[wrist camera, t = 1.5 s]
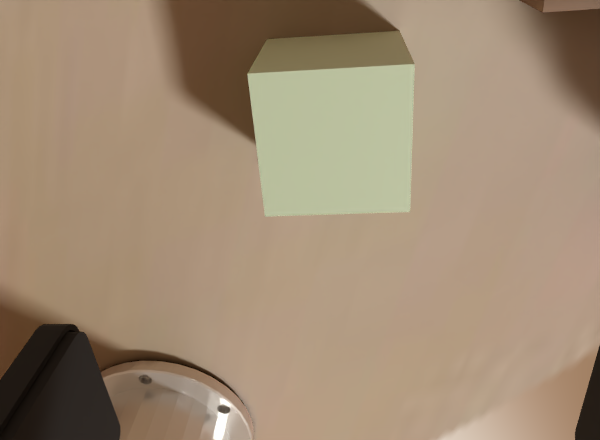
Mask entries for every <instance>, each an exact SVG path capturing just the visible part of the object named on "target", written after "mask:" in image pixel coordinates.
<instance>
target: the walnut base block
mask: <svg viewBox="0 0 600 440" xmlns="http://www.w3.org/2000/svg"><path fill="white" fill-rule="evenodd" d="M520 1H522V2H524V3H526V4H527V5H529V6H531V7H533V8H535V9H537V10H539V11H541V12H557V11H572V10H587V9H600V0H520Z"/></svg>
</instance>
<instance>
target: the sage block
mask: <svg viewBox="0 0 600 440" xmlns="http://www.w3.org/2000/svg"><path fill="white" fill-rule="evenodd" d="M414 68H415V64H414V62H413V59H412V57H411V55H410V53H409V51H408V48H407V46H406V44H405V42H404V40H403V37H402V35H401V33H400V31H386V32H370V33H354V34H339V35H323V36H307V37H292V38H276V39H267V40H266V42H265V44H264V45H263V47H262V49H261V51H260V52H259V54H258V56H257V58H256V59H255V61H254V63H253V65H252V66H251V68H250V70H249V72H248V73H247V75H248V83H249V91H250V99H251V108H252V116H253V124H254V132H255V140H256V148H257V156H258V164H259V172H260V180H261V188H262V196H263V204H264V213H265V216H297V215H329V214H361V213H393V212H410V197H411V164H412V132H413V100H414Z"/></svg>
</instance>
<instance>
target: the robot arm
mask: <svg viewBox="0 0 600 440" xmlns="http://www.w3.org/2000/svg"><path fill="white" fill-rule="evenodd" d="M253 435H254V429H253V424H252V419H251V417H250V415H249V413H248V411H247V408H246V407H245V406H244V404H243V403H242V402H241V401H240V399H239V398H238V397H237V396H236V395H235V394H234V393H233V392H232V391H231V390H230V389H229V388H227V387H226V386H225V385H223V384H222V383H220V382H219V381H217V380H216V379H214V378H213V377H211V376H209V375H206V374H204V373H202V372H200V371H198V370H196V369H192V368H189V367H186V366H183V365H180V364H174V363H168V362H163V361H136V362H127V363H123V364H119V365H116V366H113V367H110V368H108V369H106V370H104V371H102V372H100V370H99V367H98V364H97V362H96V359H95V356H94V354H93V351H92V348H91V346H90V343H89V340H88V338H87V336H86V334H85V333H84V332H79V330H78V328H77V327H76V326H75V325H73V324H44V325H41V326H40V327H39V328H38V329H37V330H36V331H35V332H34V334H33V335H32V336H31V338H30V339H29V341H28V342H27V343H26V345H25V346H24V348H23V349H22V350H21V352H20V353H19V355H18V356H17V357H16V359H15V360H14V362H13V363H12V364H11V366H10V367H9V369H8V370H7V371H6V373H5V374H4V376H3V377H2V378H1V380H0V440H253ZM575 440H600V346H599V350H598V353H597V357H596V360H595V364H594V367H593V371H592V374H591V378H590V381H589V385H588V388H587V392H586V395H585V399H584V403H583V406H582V409H581V413H580V417H579V420H578V423H577V427H576V432H575Z"/></svg>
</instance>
